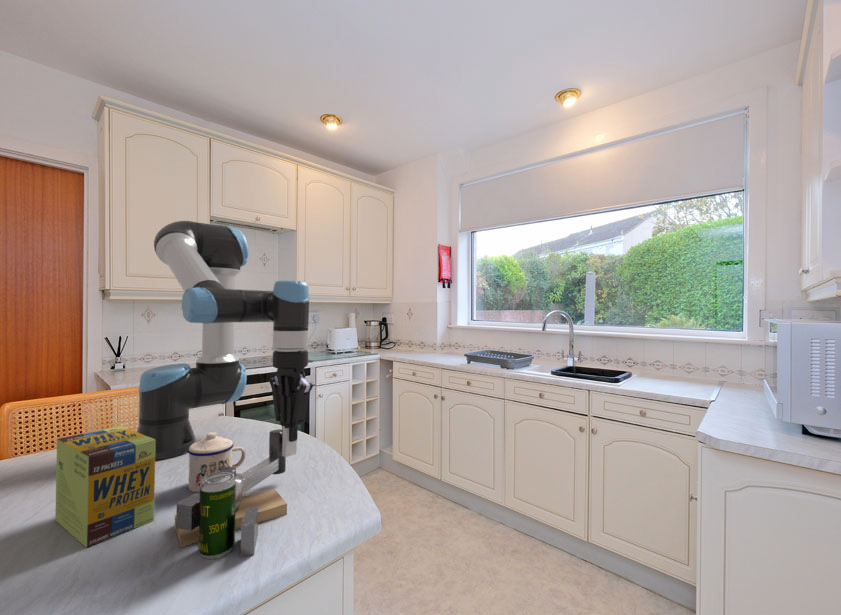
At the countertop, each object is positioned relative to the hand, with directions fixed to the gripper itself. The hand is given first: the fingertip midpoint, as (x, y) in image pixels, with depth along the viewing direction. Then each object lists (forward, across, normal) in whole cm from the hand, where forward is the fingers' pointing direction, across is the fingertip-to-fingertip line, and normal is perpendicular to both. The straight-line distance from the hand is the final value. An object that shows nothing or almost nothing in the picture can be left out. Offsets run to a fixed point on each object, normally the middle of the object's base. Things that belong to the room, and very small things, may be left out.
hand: (289, 454), depth 87 cm
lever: (+5, -1, +12) cm, 12 cm away
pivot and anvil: (+8, -8, +16) cm, 19 cm away
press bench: (+8, -2, +15) cm, 17 cm away
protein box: (+8, +16, +29) cm, 34 cm away
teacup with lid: (+8, +15, +8) cm, 19 cm away
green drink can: (+8, -9, +20) cm, 24 cm away
